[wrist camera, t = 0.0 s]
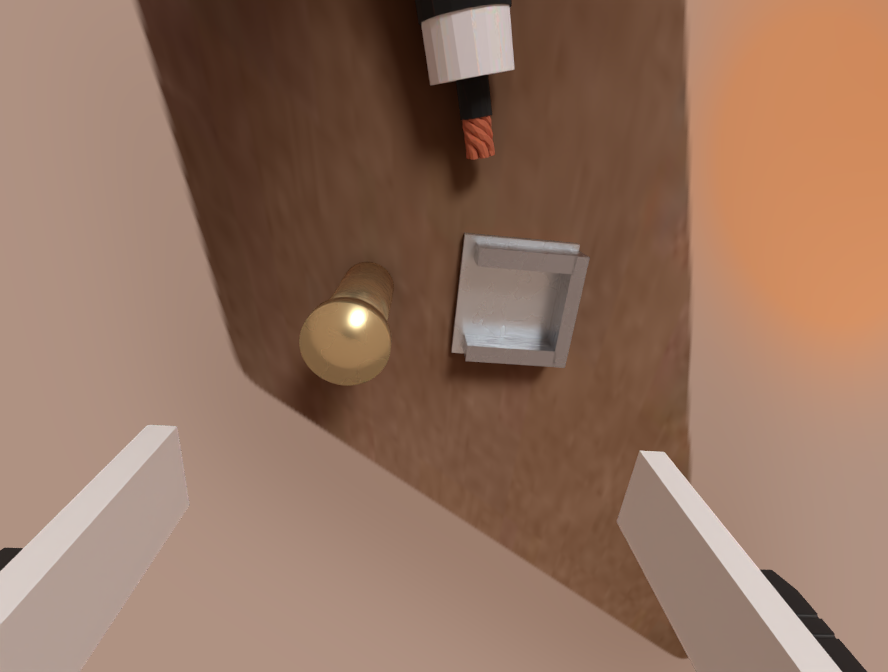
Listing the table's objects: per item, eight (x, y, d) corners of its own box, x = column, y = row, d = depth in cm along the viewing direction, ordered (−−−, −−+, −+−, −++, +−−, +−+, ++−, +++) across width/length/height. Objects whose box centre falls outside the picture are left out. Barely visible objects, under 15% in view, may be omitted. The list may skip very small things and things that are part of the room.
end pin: (336, 253, 38) (297, 299, 26) (401, 258, 38) (392, 306, 26) (336, 313, 40) (300, 382, 28) (398, 318, 41) (388, 388, 29)
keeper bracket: (464, 232, 38) (468, 240, 35) (576, 243, 39) (590, 251, 35) (451, 349, 42) (453, 365, 39) (552, 356, 43) (563, 372, 40)
